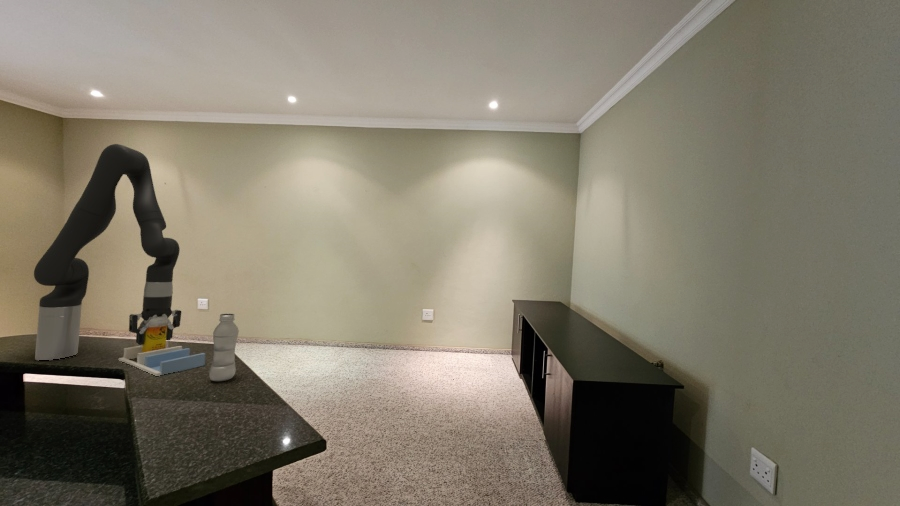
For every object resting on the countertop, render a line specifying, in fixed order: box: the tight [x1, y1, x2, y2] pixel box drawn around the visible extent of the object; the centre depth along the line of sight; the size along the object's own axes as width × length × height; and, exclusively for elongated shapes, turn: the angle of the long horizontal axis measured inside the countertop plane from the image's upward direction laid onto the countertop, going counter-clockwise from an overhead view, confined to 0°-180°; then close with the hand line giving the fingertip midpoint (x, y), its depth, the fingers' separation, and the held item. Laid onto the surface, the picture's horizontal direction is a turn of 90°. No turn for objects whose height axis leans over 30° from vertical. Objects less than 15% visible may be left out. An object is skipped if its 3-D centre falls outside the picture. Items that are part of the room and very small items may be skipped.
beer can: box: [141, 315, 169, 353], centre depth 115 cm, size 6×6×15 cm
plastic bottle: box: [208, 312, 240, 382], centre depth 101 cm, size 6×7×20 cm
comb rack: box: [118, 340, 206, 377], centre depth 111 cm, size 24×13×4 cm, turn 65°
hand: (154, 342), depth 115 cm, fingers open, 7 cm apart
